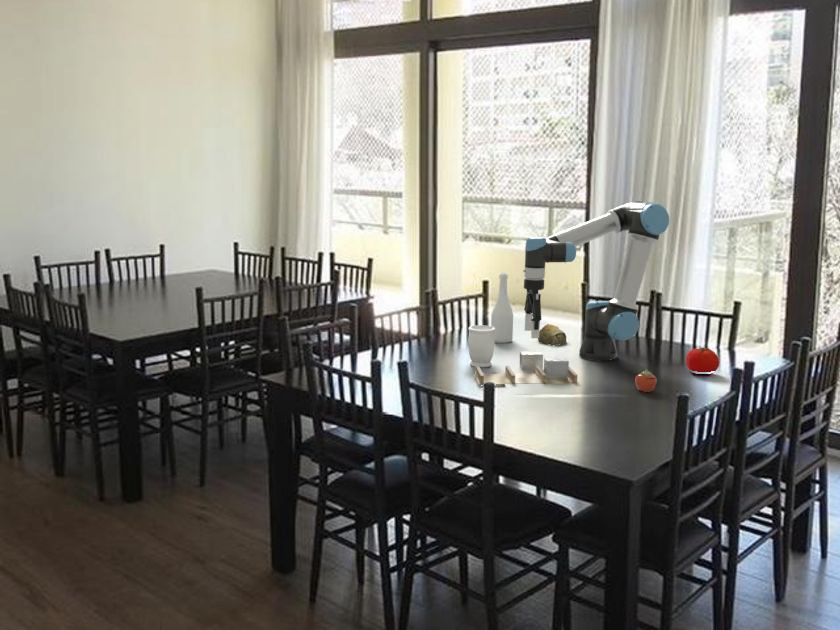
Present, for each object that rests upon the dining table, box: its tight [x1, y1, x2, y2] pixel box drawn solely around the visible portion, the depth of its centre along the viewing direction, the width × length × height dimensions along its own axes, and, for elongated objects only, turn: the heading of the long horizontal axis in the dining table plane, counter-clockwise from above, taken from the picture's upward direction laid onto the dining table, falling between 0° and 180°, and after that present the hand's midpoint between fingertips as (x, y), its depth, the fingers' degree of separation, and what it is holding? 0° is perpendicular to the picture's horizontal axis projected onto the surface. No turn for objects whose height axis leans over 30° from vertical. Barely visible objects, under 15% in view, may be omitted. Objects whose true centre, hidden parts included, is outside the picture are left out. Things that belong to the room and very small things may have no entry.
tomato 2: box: [685, 345, 720, 372], centre depth 331 cm, size 11×13×10 cm
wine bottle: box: [490, 272, 514, 344], centre depth 381 cm, size 10×10×30 cm
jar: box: [467, 324, 496, 368], centre depth 340 cm, size 11×10×15 cm
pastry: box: [537, 323, 567, 346], centre depth 382 cm, size 14×12×8 cm
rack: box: [473, 365, 579, 388], centre depth 317 cm, size 36×15×4 cm, turn 94°
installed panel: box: [543, 357, 570, 380], centre depth 318 cm, size 8×4×7 cm, turn 94°
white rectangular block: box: [519, 351, 544, 371], centre depth 333 cm, size 8×4×7 cm, turn 94°
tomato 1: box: [634, 368, 658, 392], centre depth 307 cm, size 7×7×8 cm
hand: (531, 334), depth 331 cm, fingers open, 13 cm apart
